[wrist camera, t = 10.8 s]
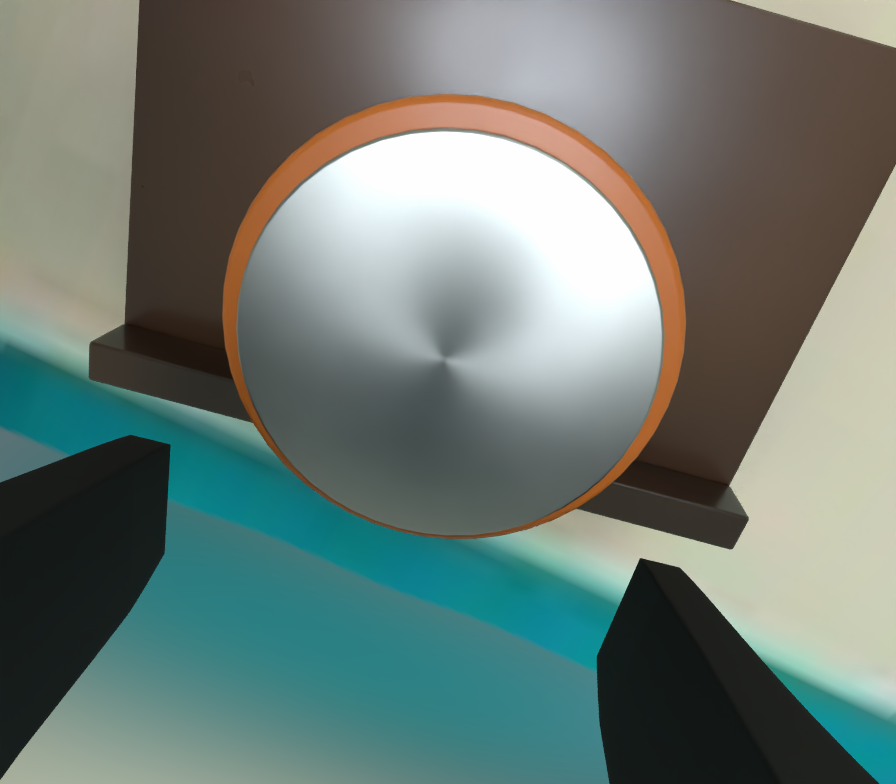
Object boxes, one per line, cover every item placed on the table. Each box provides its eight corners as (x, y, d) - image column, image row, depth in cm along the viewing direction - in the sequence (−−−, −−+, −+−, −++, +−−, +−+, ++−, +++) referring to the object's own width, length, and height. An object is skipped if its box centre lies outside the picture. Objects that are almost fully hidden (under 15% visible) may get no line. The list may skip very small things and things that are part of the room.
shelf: (184, 318, 20) (86, 380, 15) (221, -111, 15) (99, -207, 11) (681, 452, 20) (733, 551, 16) (859, 72, 16) (1005, 55, 11)
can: (344, 307, 15) (188, 494, 8) (389, 75, 13) (236, 23, 6) (551, 363, 16) (594, 601, 8) (628, 141, 13) (786, 179, 6)
